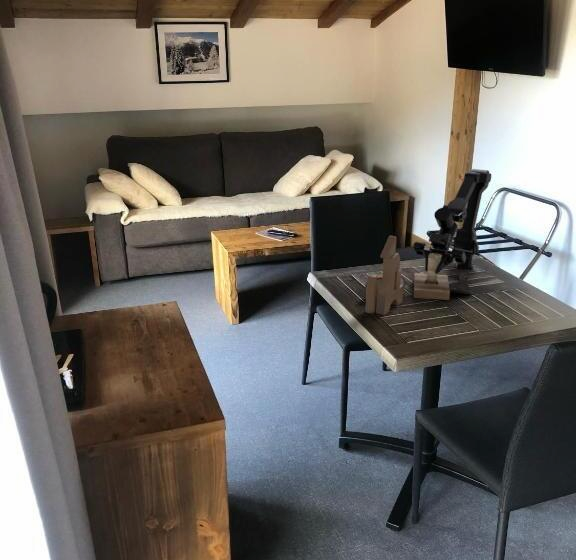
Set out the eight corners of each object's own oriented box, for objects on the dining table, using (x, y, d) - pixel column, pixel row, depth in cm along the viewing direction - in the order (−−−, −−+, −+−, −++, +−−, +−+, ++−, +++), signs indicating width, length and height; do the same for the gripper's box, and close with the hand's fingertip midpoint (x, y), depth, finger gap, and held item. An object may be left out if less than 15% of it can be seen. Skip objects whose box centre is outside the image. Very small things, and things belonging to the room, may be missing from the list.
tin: (401, 292, 206) (402, 270, 204) (405, 295, 204) (407, 273, 201) (363, 298, 201) (365, 275, 198) (368, 301, 199) (369, 278, 196)
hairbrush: (475, 270, 221) (471, 289, 199) (474, 279, 222) (470, 299, 200) (453, 268, 224) (447, 286, 202) (452, 277, 225) (446, 296, 203)
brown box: (414, 280, 218) (414, 273, 217) (446, 282, 216) (447, 275, 215) (413, 297, 201) (414, 289, 200) (449, 300, 199) (449, 292, 198)
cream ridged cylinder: (430, 285, 211) (433, 253, 206) (438, 288, 208) (441, 256, 204) (423, 287, 209) (426, 255, 204) (431, 290, 206) (434, 257, 202)
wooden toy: (384, 298, 201) (389, 229, 193) (402, 302, 197) (407, 232, 189) (363, 312, 189) (367, 239, 181) (381, 317, 186) (386, 243, 177)
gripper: (416, 220, 209) (400, 256, 204) (466, 227, 198) (451, 266, 194) (424, 236, 217) (409, 271, 213) (472, 244, 207) (457, 281, 202)
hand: (430, 272), depth 205 cm, fingers closed on cream ridged cylinder, 3 cm apart
